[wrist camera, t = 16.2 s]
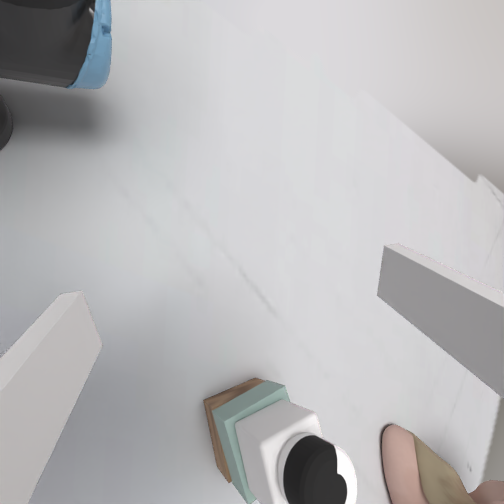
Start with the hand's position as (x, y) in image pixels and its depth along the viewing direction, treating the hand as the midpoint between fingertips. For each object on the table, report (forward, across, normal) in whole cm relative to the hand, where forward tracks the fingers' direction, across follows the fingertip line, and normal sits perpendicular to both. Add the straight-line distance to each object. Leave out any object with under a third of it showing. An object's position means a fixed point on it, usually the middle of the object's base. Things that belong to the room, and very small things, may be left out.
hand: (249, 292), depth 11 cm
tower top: (+14, +1, -30) cm, 33 cm away
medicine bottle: (+10, +2, -27) cm, 29 cm away
